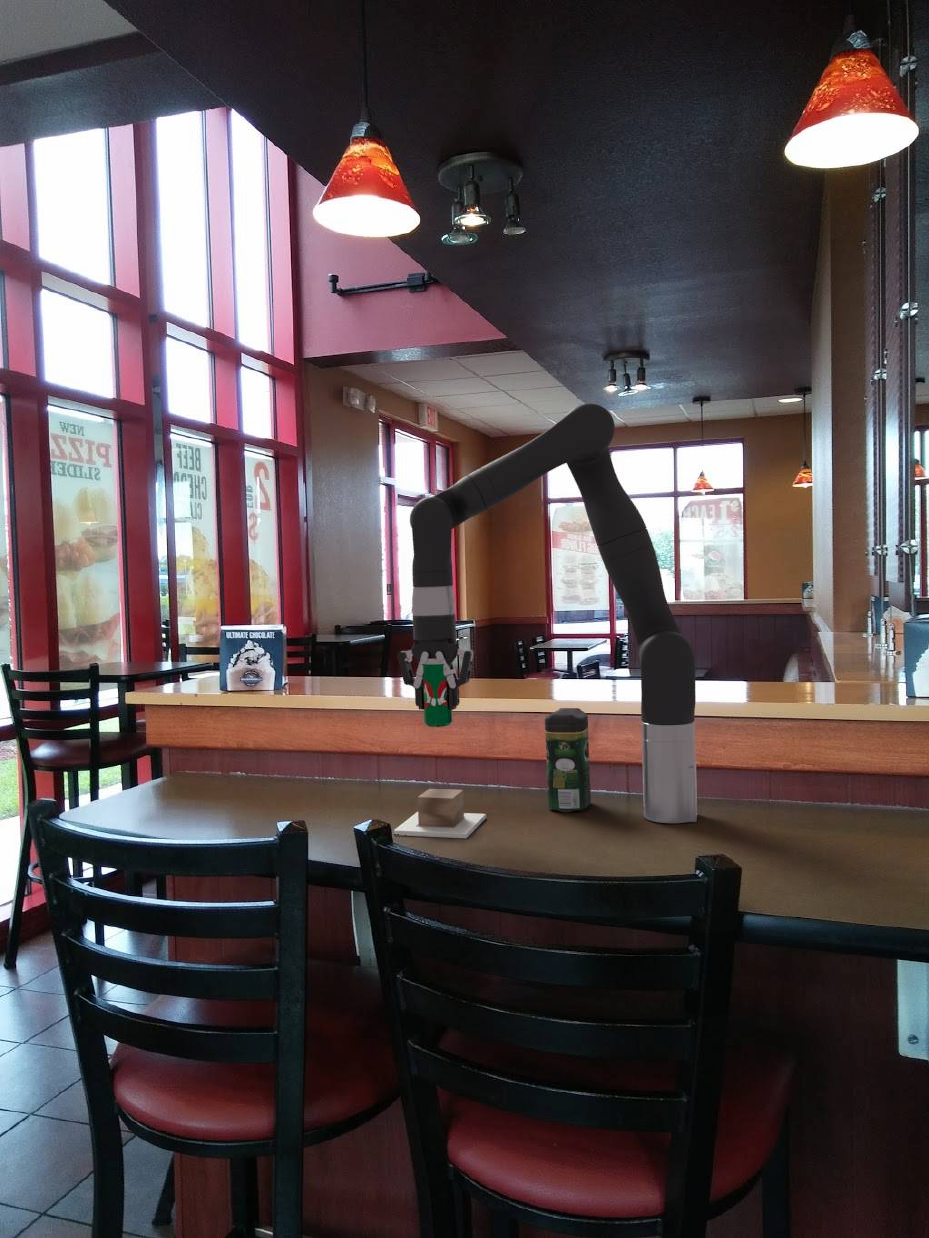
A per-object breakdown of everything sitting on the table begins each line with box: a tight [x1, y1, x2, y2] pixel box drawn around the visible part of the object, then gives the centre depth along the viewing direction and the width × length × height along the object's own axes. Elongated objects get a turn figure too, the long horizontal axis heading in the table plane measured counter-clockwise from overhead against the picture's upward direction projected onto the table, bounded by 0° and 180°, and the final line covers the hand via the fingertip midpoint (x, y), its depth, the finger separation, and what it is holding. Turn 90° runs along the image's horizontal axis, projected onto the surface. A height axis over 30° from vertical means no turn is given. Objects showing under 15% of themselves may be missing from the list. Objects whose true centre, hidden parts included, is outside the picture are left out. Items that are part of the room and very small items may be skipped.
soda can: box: [422, 658, 454, 728], centre depth 162 cm, size 5×5×12 cm
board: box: [393, 811, 487, 839], centre depth 163 cm, size 13×13×1 cm
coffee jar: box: [544, 707, 592, 813], centre depth 173 cm, size 10×8×19 cm
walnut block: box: [417, 788, 465, 827], centre depth 162 cm, size 6×6×5 cm
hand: (437, 708), depth 162 cm, fingers closed on soda can, 5 cm apart
